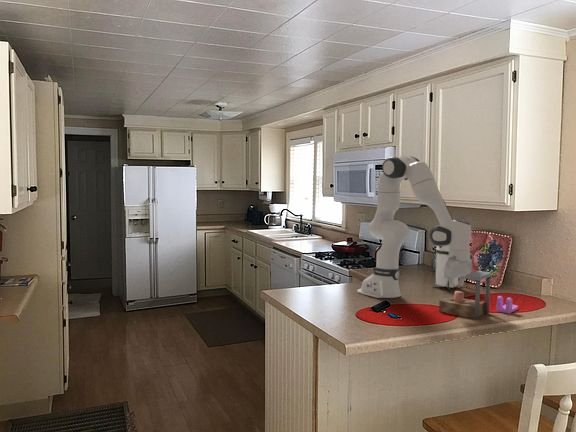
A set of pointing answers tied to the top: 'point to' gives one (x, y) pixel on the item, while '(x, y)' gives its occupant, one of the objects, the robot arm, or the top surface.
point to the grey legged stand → (479, 276)
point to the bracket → (505, 308)
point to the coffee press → (442, 267)
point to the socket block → (460, 307)
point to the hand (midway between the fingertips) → (456, 286)
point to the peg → (458, 296)
